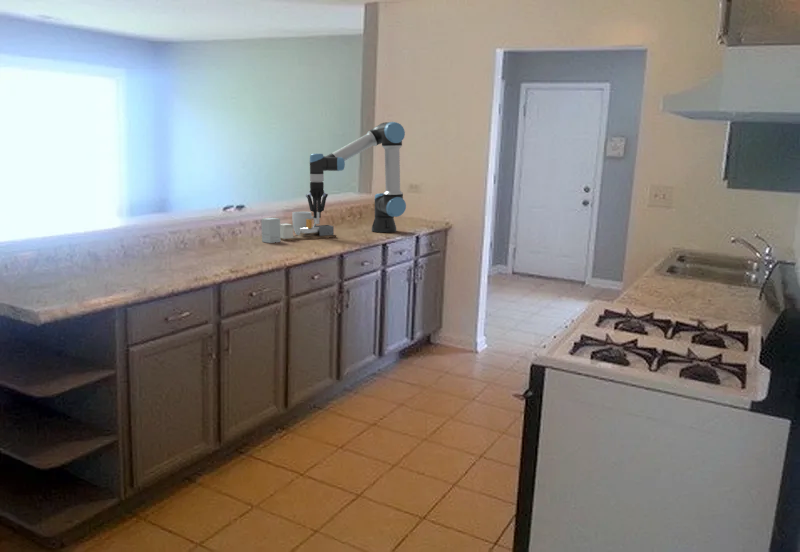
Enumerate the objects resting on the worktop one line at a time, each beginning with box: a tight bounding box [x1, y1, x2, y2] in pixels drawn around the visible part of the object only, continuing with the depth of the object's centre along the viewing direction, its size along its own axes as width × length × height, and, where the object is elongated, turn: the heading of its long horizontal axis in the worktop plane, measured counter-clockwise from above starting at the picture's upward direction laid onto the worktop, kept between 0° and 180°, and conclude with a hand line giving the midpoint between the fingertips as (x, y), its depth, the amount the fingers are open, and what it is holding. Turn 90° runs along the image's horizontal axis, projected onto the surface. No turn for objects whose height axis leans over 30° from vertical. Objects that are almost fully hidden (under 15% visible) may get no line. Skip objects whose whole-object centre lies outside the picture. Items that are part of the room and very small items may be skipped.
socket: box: [280, 223, 294, 239], centre depth 370 cm, size 5×8×7 cm
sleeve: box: [313, 224, 335, 236], centre depth 383 cm, size 9×7×5 cm
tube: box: [298, 219, 319, 236], centre depth 380 cm, size 18×4×9 cm, turn 125°
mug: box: [291, 211, 317, 236], centre depth 392 cm, size 15×11×13 cm
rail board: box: [280, 234, 337, 242], centre depth 378 cm, size 32×9×1 cm, turn 125°
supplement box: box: [260, 217, 282, 244], centre depth 362 cm, size 7×7×13 cm
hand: (317, 223), depth 380 cm, fingers closed
